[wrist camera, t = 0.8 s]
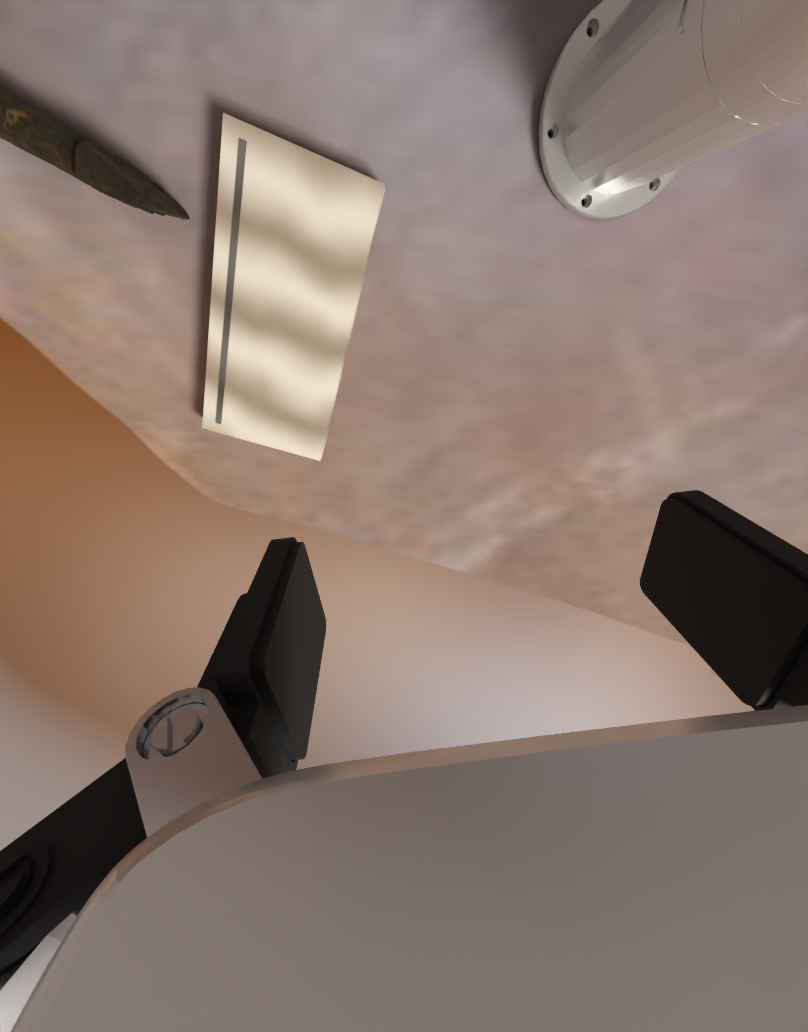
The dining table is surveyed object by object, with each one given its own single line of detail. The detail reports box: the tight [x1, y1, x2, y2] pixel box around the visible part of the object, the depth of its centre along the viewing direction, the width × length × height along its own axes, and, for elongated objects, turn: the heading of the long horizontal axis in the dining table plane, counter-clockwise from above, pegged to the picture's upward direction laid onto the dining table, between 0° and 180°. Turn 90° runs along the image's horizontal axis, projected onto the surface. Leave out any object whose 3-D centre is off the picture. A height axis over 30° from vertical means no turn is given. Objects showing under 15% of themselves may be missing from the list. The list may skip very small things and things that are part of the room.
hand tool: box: [0, 85, 190, 219], centre depth 27 cm, size 19×4×5 cm, turn 60°
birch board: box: [202, 113, 385, 461], centre depth 34 cm, size 24×12×2 cm, turn 162°
